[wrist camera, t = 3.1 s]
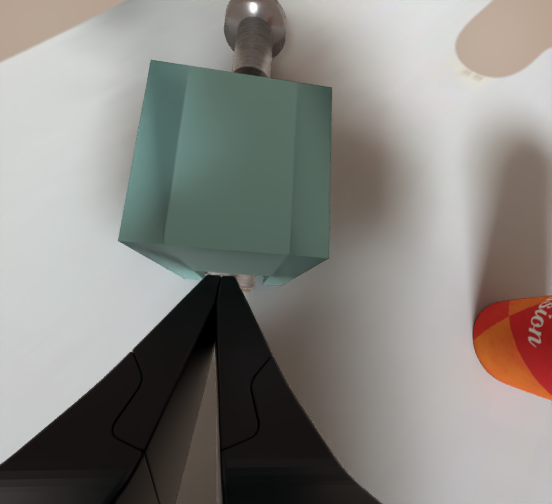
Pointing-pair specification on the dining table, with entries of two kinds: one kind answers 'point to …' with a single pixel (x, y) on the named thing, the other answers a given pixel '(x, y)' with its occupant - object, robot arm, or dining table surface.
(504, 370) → the paper cup
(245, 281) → the pipe rig
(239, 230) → the teal notched block
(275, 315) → the dining table surface
